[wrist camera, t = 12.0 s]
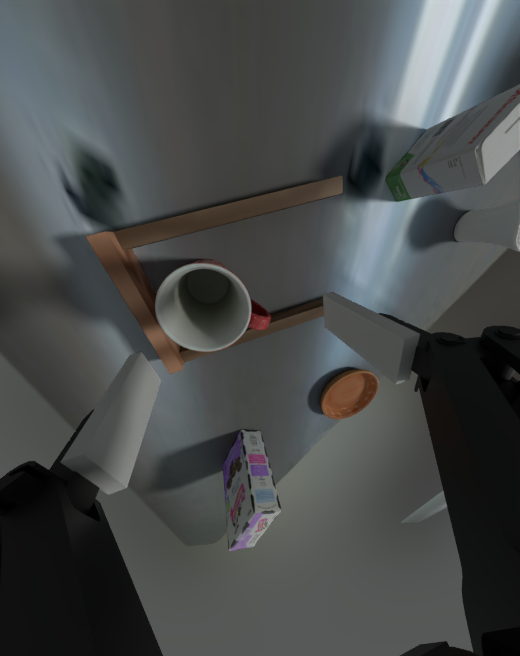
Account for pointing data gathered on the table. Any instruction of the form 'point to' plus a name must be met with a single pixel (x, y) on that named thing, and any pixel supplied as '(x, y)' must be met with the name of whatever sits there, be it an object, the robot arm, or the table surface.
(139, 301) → the guide channel
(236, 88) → the table surface
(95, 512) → the robot arm
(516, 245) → the cup
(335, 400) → the saucer
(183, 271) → the mug
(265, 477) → the candy box
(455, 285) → the table surface
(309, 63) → the table surface
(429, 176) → the ink box
